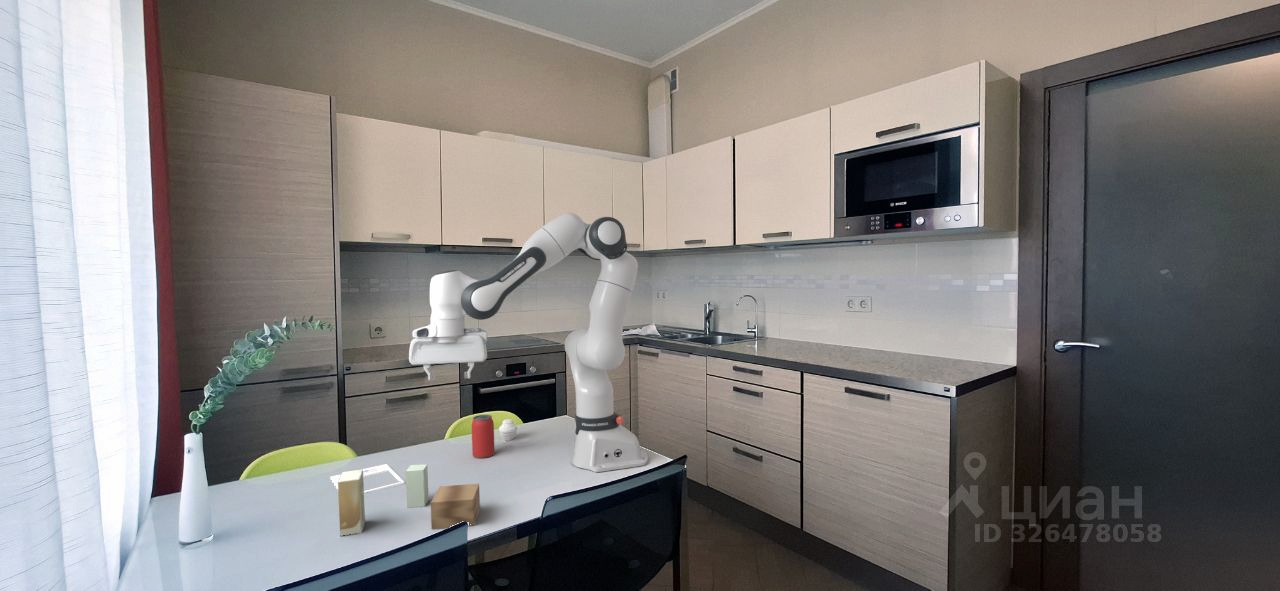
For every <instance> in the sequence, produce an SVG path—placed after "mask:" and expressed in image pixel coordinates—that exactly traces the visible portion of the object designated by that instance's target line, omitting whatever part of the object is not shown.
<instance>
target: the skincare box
mask: <svg viewBox="0 0 1280 591" xmlns="http://www.w3.org/2000/svg"><path fill="white" fill-rule="evenodd" d="M339 475H340V474H339ZM364 486H365V485H364V477H363V470H362V469H355V470H348V471H342V472H341V475H340V478H339V480H338V490H337V492H338V493H337V494H338V497H337V498H338V518H339V536H340V537H344V536H343V535H345V536H350V535H349V534H351V535H356V534H355V533H357V534H361V533H360V532H362V533H363V531H364V527H365V524H366V515H365V514H366V510H365V494H364V491H365V490H364V489H365V487H364Z"/></svg>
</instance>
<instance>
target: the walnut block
mask: <svg viewBox="0 0 1280 591" xmlns="http://www.w3.org/2000/svg"><path fill="white" fill-rule="evenodd" d="M480 497H481V496H480V483H469V484H467V483H466V484H457V485H456V484H454V485H441V486H439V487H438V489H437V490H436V492H435V494H434V496H433V498H432V499H431V501H430V521H431V530H440V529H441V530H442V529H449V528H448V527H450V526H452V525H455V524H457V523H460V522H462V521H467V522H469V526H468V527H473V526H472V525H474V526H475V524H476V520H477V518H478V515H479V512H480V509H481V503H480V502H481V501H480V500H481V499H480ZM474 523H475V524H474ZM470 524H471V526H470Z"/></svg>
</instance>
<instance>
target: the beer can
mask: <svg viewBox="0 0 1280 591" xmlns="http://www.w3.org/2000/svg"><path fill="white" fill-rule="evenodd" d="M471 444H472V445H471V450H472V451H471V452H472V457H474V458H475V459H487V458H490V457H492V456H493V455H494V454H495V451H496V450H495V422H494V420H493V416H492V415H490V414H479V415H475V416H474V417H473V418H472V422H471ZM486 457H487V458H486Z"/></svg>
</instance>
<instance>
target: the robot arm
mask: <svg viewBox="0 0 1280 591" xmlns="http://www.w3.org/2000/svg"><path fill="white" fill-rule="evenodd" d="M575 250H578V251H579V252H581V253H582V254H584V256H586V257H588V258H589V259H592V260H595V261H600V264H601V266H600V267H601V268H600V273H599V276H598V278H597V282H596V283H595V287H594V289H593V292H592V295H591V298H590V302H589V305H588V309H589V313H590V314H589V323H588V324H589V325H588V328H585V327H584V328H579V329H575V330H573V331H572V332H570V333H569V334H568V335H567V336H566V338H565V341H564V351H565V353H566V355H567V357H568V359H569V364H570V368H571V375H572V377H573V382H574V389H575V414H574V419H573V420H574V433H575V443H574V444H575V445H574V450H573V454H572V460H571V463H572V465H573V466H574V467H578V468H581V469H585V470H589V471H591V472H594V473H602V472H608V471H616V470H623V469H629V468H636V467H642V466H645V465H646V464H648V462H649V456H648V453H647V452H646V450H644V449H642V448H641V445H640V442H639V439H638V437H637V436H636V434H634V433H633V432H632V431H630V430H629V429H627V428H626V427H624V426H623V424H624V419H623V416H621V415H620V414H619V413H618V411H616V412H615V411H614V387H613V383H612V382H611V379H610V377H609V375H608V372H607V371H611V370H615V369H617V368H618V367H619V366H621V364H622V363H623V362H624V359H625V356H626V347H625V345H624V340H623V331H624V321H625V316H626V314H627V313H626V312H627V310H628V307H629V304H630V301H631V297H632V295H633V291H634V288H635V285H636V281H637V274H638V268H639V263H638V260H637V259H636V257H635V256H634V255H632V254H631V253H628V252H627V251H628V244H627V239H626V231H625V228H624V225H623V224H622V223H621V221H619V220H618V219H617V218H615V217H611V216H603V217H599V218H597V219H595V220H593V222H592V223H586V222H585V221H583V219H582V218H581V217H580V216H579V215H577V214H576V213H573V212H565V213H563V214H561V215H558V216H556V217H555V218H553V219H552V220H550V221H549V222H546V223H545V224H544V225H542V226H541V227H540V228H539V229H537V230H536V231H534V233H532V234H531V236H529V238H527V240H526V241H524V244H523V246H522V248H521V250H520V252H519V253H518V255H517V256H516V257H515V258H514V259H513V260H511V262H509V263H508V264H507V265H506V266H504V267H502V269H501V270H499V271H497V272H496V273H495V274H494V275H492V276H491V277H489V278H487V279H483V280H482V279H481V280H478V279H475V278H473V277H471V276H468V275H466V274H465V273H463V272H461V271H460V269H459V270H458V269H453V270H452V269H451V270H446V271H440V272H438V273H436V274H434V275H433V276H432V277H431V278H430V284H429V306H430V309H431V314H430V317H429V319H430V322H429V324H426V325H423V326H421V327H418V328H416V329H414V330H413V331H412V338H413V339H412V340H411V341H410V344H409V351H408V361H409V363H410V364H411V365H412V366H417V365H420V366H421V365H423V370H424V371H425V373H426V374H427V380H428V382H429V381H430V382H431V381H435V380H436V373H435V372H432V370H431V369H430V368H431V366H432V365H438V364H439V365H440V364H441V365H443V364H459V363H463V364H464V363H465V364H466V363H467V367H469V368H468V369H467V371H464V372H463V378H464V379H465V380H468V379H471V377H472V376H471V372H472V370H473V368H474V367H475V363H483V362H485V361H486V360H487V358H488V352H487V344H486V343H487V342H488V333H487V331H486V330H484V329H483V328H479V327H478V328H466V325H465V316H466V315H467V316H468V317H469V318H470V317H471V318H472V319H474V320H480V321H481V320H482V321H483V320H488V319H491V318H492V317H494V316H495V315H497V313H498V312H499V311H500V309H501V306H502V305H503V303H504V301H505V299H506V298H507V297H508V296H509V295H510V294H511V293H512V292H514V290H516V289H517V288H518V287H519V286H521V285H522V284H523V283H525V281H527V280H528V279H529V278H531V277H532V276H534V275H536V274H538V273H541V272H543V271H545V270H548V269H549V268H551V267H553V266H555V265H556V264H558V263H560V262H561V261H562V260H563V259H565V258H566V257H568V256H569V255H570V254H571V253H572V252H574V251H575Z"/></svg>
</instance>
